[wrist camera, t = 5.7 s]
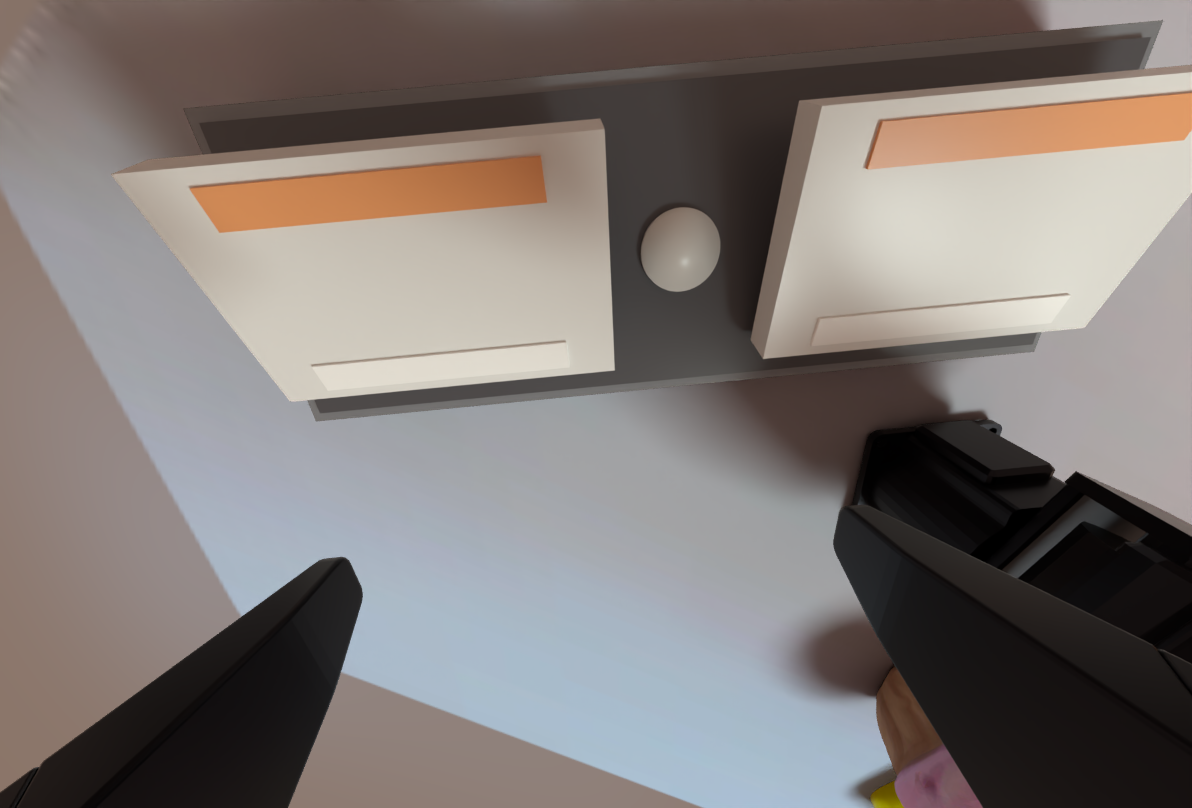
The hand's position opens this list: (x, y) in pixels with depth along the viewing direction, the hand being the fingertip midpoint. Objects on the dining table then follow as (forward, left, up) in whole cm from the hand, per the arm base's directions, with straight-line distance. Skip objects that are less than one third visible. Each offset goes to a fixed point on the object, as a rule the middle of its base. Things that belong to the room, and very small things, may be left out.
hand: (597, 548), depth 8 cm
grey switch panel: (+4, -4, -12) cm, 13 cm away
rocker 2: (+4, -12, -7) cm, 14 cm away
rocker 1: (+4, +4, -7) cm, 9 cm away
